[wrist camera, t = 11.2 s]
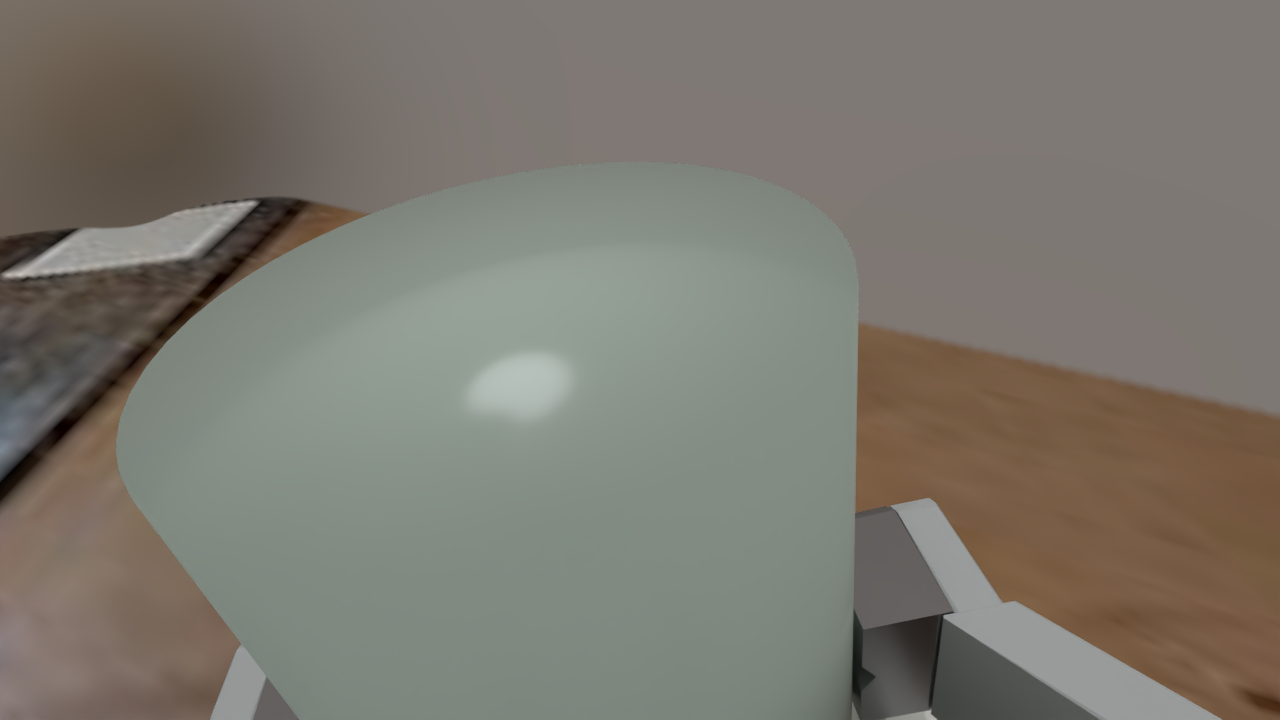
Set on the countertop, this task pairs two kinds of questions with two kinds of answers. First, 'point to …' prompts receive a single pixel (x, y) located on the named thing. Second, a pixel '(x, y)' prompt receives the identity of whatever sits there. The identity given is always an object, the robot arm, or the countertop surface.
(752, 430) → the sage green cylinder
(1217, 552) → the countertop surface
